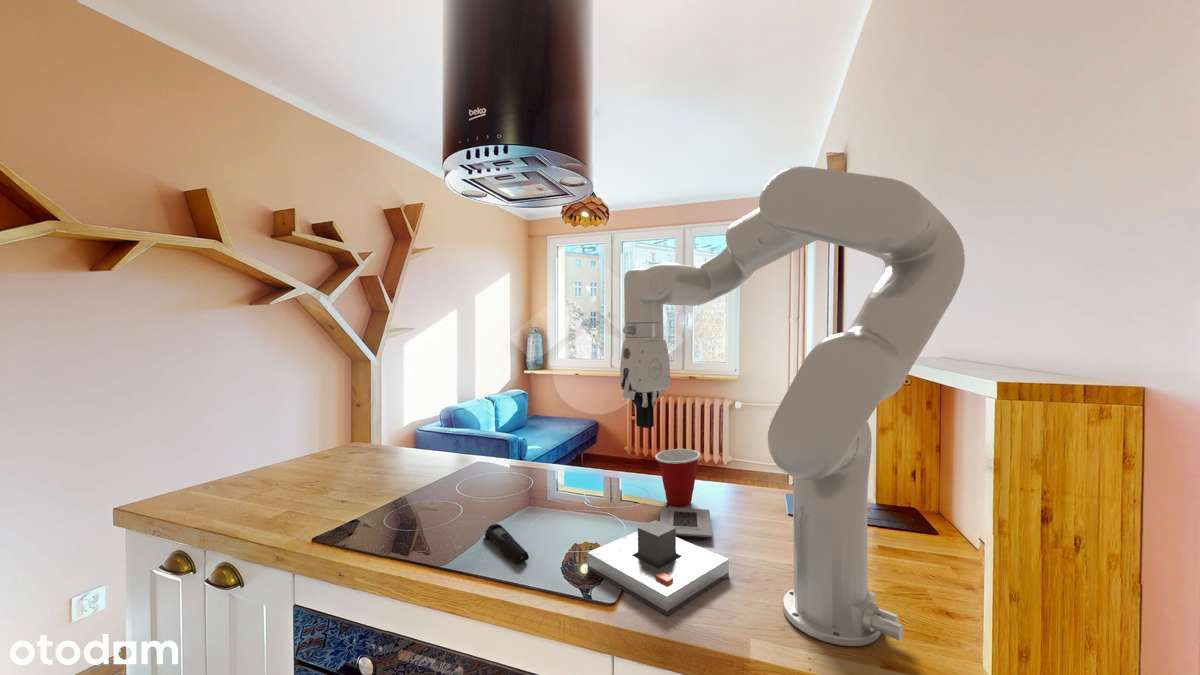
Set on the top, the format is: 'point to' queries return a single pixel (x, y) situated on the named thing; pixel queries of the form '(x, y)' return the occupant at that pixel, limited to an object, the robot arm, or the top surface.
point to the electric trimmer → (506, 543)
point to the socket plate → (659, 572)
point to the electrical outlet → (688, 522)
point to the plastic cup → (678, 474)
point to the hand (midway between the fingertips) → (645, 426)
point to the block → (657, 543)
